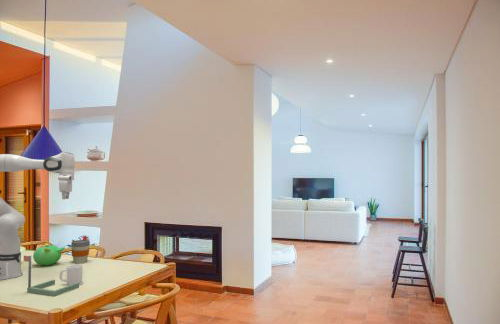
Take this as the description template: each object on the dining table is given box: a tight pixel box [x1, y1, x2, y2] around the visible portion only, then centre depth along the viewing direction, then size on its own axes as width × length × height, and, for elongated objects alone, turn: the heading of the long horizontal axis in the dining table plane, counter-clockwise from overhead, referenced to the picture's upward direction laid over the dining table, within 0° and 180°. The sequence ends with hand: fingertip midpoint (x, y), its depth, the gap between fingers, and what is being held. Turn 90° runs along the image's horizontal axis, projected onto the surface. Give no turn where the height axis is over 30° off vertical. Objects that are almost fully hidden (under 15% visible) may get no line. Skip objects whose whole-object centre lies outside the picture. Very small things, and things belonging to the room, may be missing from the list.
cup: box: [59, 264, 83, 286], centre depth 235 cm, size 8×12×10 cm
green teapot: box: [32, 242, 67, 266], centre depth 281 cm, size 18×17×15 cm
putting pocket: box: [23, 255, 80, 297], centre depth 223 cm, size 18×23×20 cm
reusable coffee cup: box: [70, 239, 91, 265], centre depth 290 cm, size 12×13×15 cm
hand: (65, 199), depth 257 cm, fingers open, 8 cm apart
